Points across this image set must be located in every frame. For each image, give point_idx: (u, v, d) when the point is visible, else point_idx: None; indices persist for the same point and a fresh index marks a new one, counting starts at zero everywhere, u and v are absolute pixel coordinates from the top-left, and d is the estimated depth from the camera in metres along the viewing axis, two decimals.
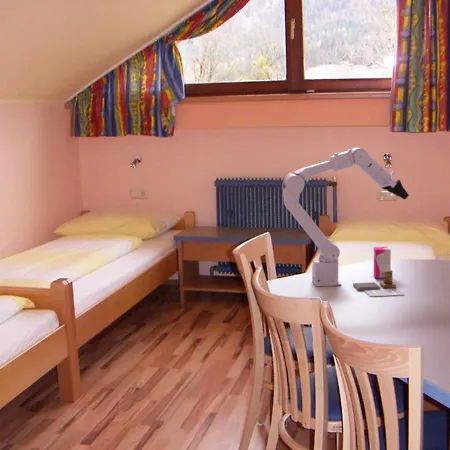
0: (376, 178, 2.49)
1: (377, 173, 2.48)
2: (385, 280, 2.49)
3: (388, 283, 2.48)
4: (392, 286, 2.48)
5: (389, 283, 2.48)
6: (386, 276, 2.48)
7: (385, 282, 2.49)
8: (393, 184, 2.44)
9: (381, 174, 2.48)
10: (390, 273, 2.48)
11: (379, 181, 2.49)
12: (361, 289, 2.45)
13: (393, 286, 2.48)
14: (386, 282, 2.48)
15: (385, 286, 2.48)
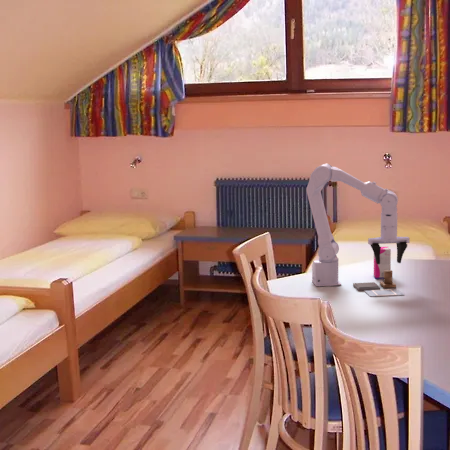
0: None
1: None
2: (385, 280, 2.49)
3: (388, 283, 2.48)
4: (392, 286, 2.48)
5: (389, 283, 2.48)
6: (386, 276, 2.48)
7: (385, 282, 2.49)
8: (368, 242, 2.47)
9: (381, 229, 2.46)
10: (390, 273, 2.48)
11: None
12: (361, 289, 2.45)
13: (393, 286, 2.48)
14: (386, 282, 2.48)
15: (385, 286, 2.48)
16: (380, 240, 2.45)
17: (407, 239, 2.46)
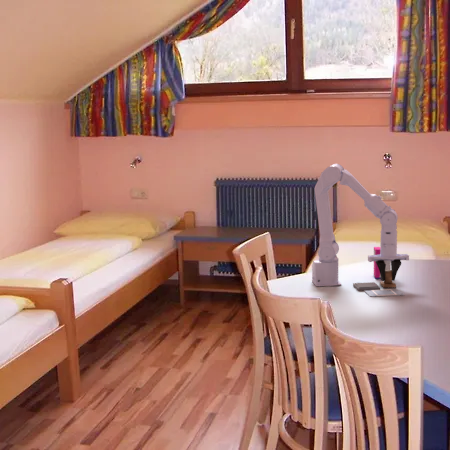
0: None
1: None
2: (385, 280, 2.49)
3: (388, 283, 2.48)
4: (392, 285, 2.48)
5: (389, 283, 2.48)
6: (386, 276, 2.48)
7: (385, 282, 2.49)
8: (368, 259, 2.48)
9: (381, 247, 2.47)
10: (390, 272, 2.48)
11: None
12: (361, 289, 2.45)
13: (393, 286, 2.48)
14: (386, 282, 2.48)
15: (385, 286, 2.47)
16: (380, 258, 2.46)
17: (407, 256, 2.48)
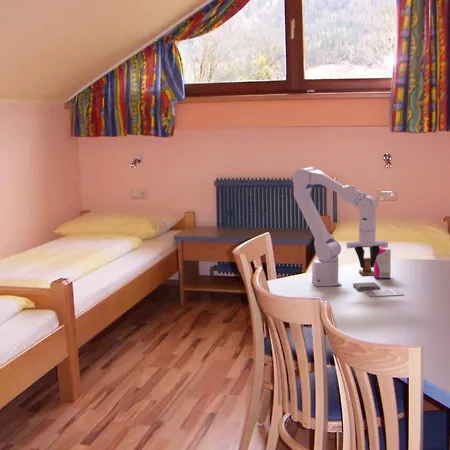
0: None
1: (359, 229, 2.45)
2: (364, 268, 2.47)
3: (367, 271, 2.46)
4: (371, 273, 2.46)
5: (368, 271, 2.46)
6: (365, 264, 2.46)
7: (364, 270, 2.47)
8: (347, 245, 2.46)
9: (359, 233, 2.45)
10: (368, 260, 2.46)
11: None
12: (361, 289, 2.45)
13: (372, 274, 2.46)
14: (365, 270, 2.46)
15: (364, 274, 2.46)
16: (358, 244, 2.44)
17: (385, 243, 2.46)
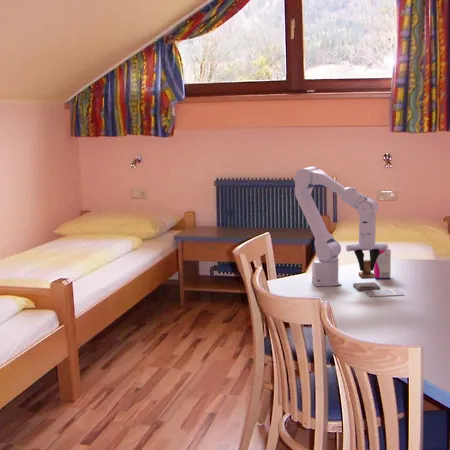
0: None
1: (359, 232, 2.46)
2: (363, 270, 2.47)
3: (366, 273, 2.46)
4: (371, 276, 2.46)
5: (367, 273, 2.46)
6: (364, 266, 2.46)
7: (363, 272, 2.47)
8: (346, 248, 2.46)
9: (359, 236, 2.45)
10: (368, 262, 2.46)
11: None
12: (361, 289, 2.45)
13: (371, 276, 2.46)
14: (364, 272, 2.47)
15: (363, 276, 2.46)
16: (358, 247, 2.44)
17: (385, 246, 2.46)
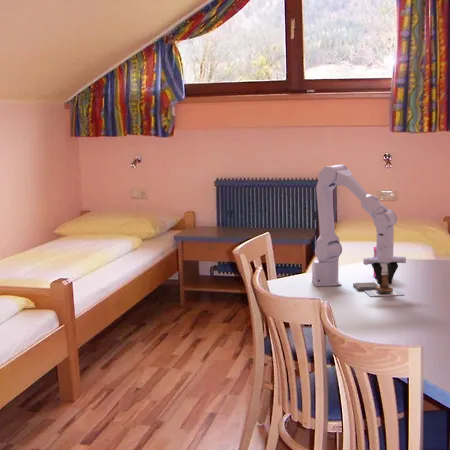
0: None
1: (376, 245, 2.39)
2: (381, 284, 2.40)
3: (385, 287, 2.39)
4: (389, 290, 2.39)
5: (386, 287, 2.40)
6: (382, 280, 2.39)
7: (381, 286, 2.40)
8: (364, 262, 2.39)
9: (377, 249, 2.38)
10: (386, 276, 2.39)
11: None
12: (361, 289, 2.45)
13: (390, 290, 2.39)
14: (382, 286, 2.40)
15: (382, 290, 2.39)
16: (376, 260, 2.37)
17: (404, 259, 2.39)
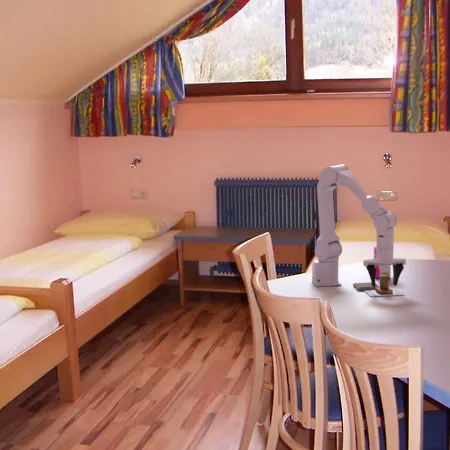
0: None
1: None
2: (381, 285, 2.40)
3: (384, 288, 2.40)
4: (389, 291, 2.39)
5: (386, 288, 2.40)
6: (382, 281, 2.39)
7: (381, 287, 2.40)
8: (364, 263, 2.39)
9: (377, 250, 2.38)
10: (386, 278, 2.39)
11: None
12: (361, 289, 2.45)
13: (390, 291, 2.39)
14: (382, 287, 2.40)
15: (382, 292, 2.39)
16: (376, 262, 2.37)
17: (403, 261, 2.39)
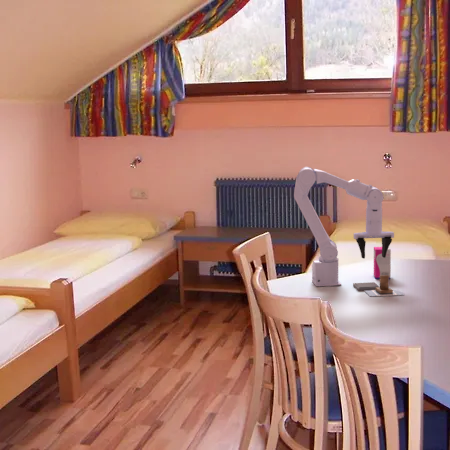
0: None
1: (366, 220, 2.51)
2: (381, 285, 2.40)
3: (384, 288, 2.40)
4: (389, 291, 2.39)
5: (386, 288, 2.40)
6: (382, 281, 2.39)
7: (381, 287, 2.40)
8: (354, 236, 2.51)
9: (366, 224, 2.50)
10: (386, 278, 2.39)
11: None
12: (361, 289, 2.45)
13: (390, 291, 2.39)
14: (382, 287, 2.40)
15: (382, 292, 2.39)
16: (365, 235, 2.49)
17: (392, 234, 2.51)
